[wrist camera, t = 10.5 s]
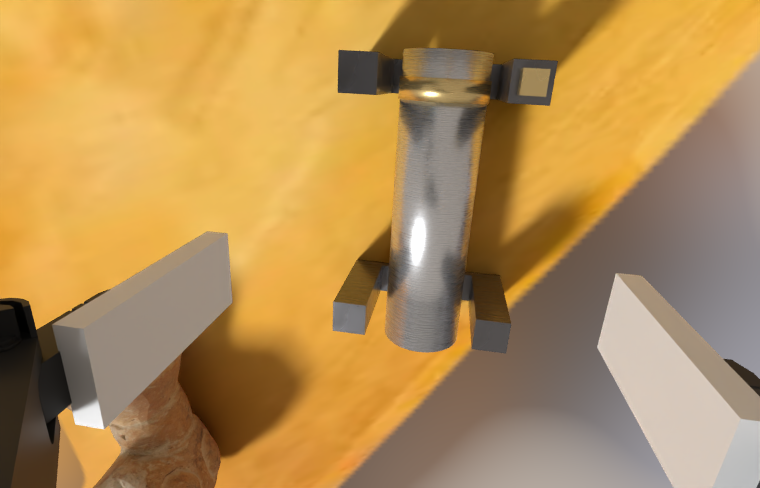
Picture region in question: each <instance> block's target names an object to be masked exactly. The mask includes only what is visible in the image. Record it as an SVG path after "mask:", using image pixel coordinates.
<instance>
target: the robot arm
mask: <svg viewBox="0 0 760 488" xmlns="http://www.w3.org/2000/svg"><path fill="white" fill-rule="evenodd" d="M231 303H232V289H231V276H230V262H229V248H228V234H227V233H218V232H208V231H207V232H205V233H204V234H202V235H200V236H199V237H197V238H195V239H194V240H192V241H190V242H189V243H187V244H185V245H184V246H182V247H180V248H179V249H177V250H175V251H174V252H172V253H170V254H169V255H167V256H165V257H164V258H162V259H160V260H159V261H157V262H155V263H154V264H152V265H150V266H149V267H147V268H145V269H144V270H142V271H140V272H139V273H137V274H135V275H134V276H132V277H130V278H129V279H127V280H125V281H124V282H122V283H120V284H119V285H117V286H115V287H114V288H112V289H109V290H106V291H103V292H101V293H98V294H96V295H95V296H93V297H91V298H90V299H88V300H86V301H85V302H84V304H80V305H78V306H76V307H74V308H73V309H72V311H68V312H66V313H64V314H63V315H61V316H59V317H58V318H56V319H54V320H52V321H51V322H49V323H47V324H46V325H44V326H42V327H41V328H39V329H37V330H36V327H35V323H34V319H33V315H32V311H31V307H30V304H29V301H26V300H24V299H20V298H5V299H0V488H56V481H57V468H58V454H59V440H60V424H59V420H58V416H57V415H58V414H59V413H61V412H62V411H63V410H64V409H65V408H67V407H68V406H69V405H70V404H71V408H72V412H73V416H74V421H75V424H76V425H82V426H88V427H94V428H100V429H105V428H106V427H107V426H108V425H109V424H110V423H111V422H112V421H113V420H114V419H115V418H116V417H117V416H118V415H119V414H120V413H121V412H122V411H123V410H124V409H125V408H126V407H127V406H128V405H129V404H130V403H131V402H132V401H133V400H134V399H135V398H136V397H137V396H138V395H139V394H140V393H141V392H142V391H143V390H144V389H145V388H146V387H148V386H149V385H150V384H151V383H152V382H153V381H154V380H155V379H156V378H157V377H158V376H159V375H160V374H161V373H162V372H163V371H164V370H165V369H166V368H167V367H168V366H169V365H170V364H171V363H172V362H173V361H174V360H175V359H176V358H177V357H178V356H179V355H180V354H181V353H182V352H183V351H184V350H185V349H186V348H187V347H188V346H189V345H190V344H191V343H192V342H193V341H194V340H195V339H196V338H197V337H198V336H199V335H200V334H201V333H202V332H203V331H204V330H205V329H206V328H207V327H208V326H209V325H210V324H211V323H212V322H213V321H214V320H215V319H216V318H217V317H218V316H219V315H220V314H221V313H222V312H223V311H224V310H225V309H226V308H227V307H228V306H229V305H230V304H231ZM597 348H598V350H599V351H600V353H601V355H602V357H603V359H604V361H605V362H606V364H607V366H608V368H609V370H610V372H611V374H612V375H613V377H614V379H615V381H616V383H617V385H618V386H619V388H620V390H621V392H622V394H623V396H624V398H625V399H626V401H627V403H628V405H629V407H630V408H631V410H632V412H633V414H634V416H635V418H636V420H637V421H638V423H639V425H640V427H641V429H642V431H643V432H644V434H645V436H646V438H647V440H648V442H649V444H650V445H651V447H652V449H653V451H654V453H655V454H656V456H657V458H658V460H659V462H660V464H661V466H662V467H663V469H664V471H665V473H666V475H667V477H668V478H669V480H670V482H671V484H672V486H673V488H760V379H759V378H758V377H757V376H756V375H755V374H754V373H752V372H751V371H749V370H747V369H746V368H744V367H743V366H741V365H739V364H738V363H736V362H734V361H733V360H728V359H722V358H721V357H720V356H719V354H718V353H717V352H716V351H715V350H714V349H713V348H712V347H711V346H710V345H709V344H708V343H707V342H706V341H705V340H704V339H703V338H702V337H701V336H700V335H699V334H698V333H697V332H696V331H695V330H694V329H693V328H692V327H691V326H690V325H689V324H688V323H687V322H686V321H685V320H684V319H683V318H682V317H681V316H680V315H679V313H678V312H677V311H676V310H675V309H674V308H673V307H672V306H671V305H669V303H668V302H667V301H666V300H665V299H664V298H663V297H662V296H661V295H660V294H659V293H658V292H657V291H656V290H655V289H654V288H653V287H652V286H651V285H650V284H649V283H648V282H647V281H646V280H645V279H644V278H643V277H642V276H638V275H629V274H619V273H616V276H615V279H614V284H613V287H612V291H611V295H610V299H609V303H608V307H607V311H606V315H605V319H604V323H603V327H602V331H601V335H600V339H599V343H598V346H597Z"/></svg>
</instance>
